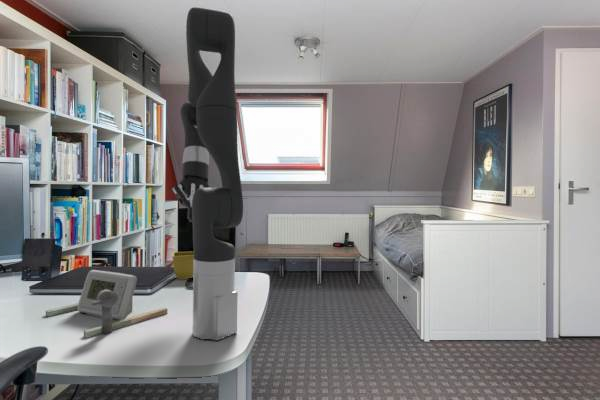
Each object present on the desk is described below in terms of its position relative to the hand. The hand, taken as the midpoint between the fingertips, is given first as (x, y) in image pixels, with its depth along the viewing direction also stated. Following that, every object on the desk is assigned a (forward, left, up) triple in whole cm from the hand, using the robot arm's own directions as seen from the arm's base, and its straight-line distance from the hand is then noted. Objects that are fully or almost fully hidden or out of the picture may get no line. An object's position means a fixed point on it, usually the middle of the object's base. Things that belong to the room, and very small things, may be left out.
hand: (192, 221), depth 104 cm
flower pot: (+25, -17, -24) cm, 38 cm away
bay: (+8, +19, -23) cm, 31 cm away
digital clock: (+10, +19, -24) cm, 32 cm away
